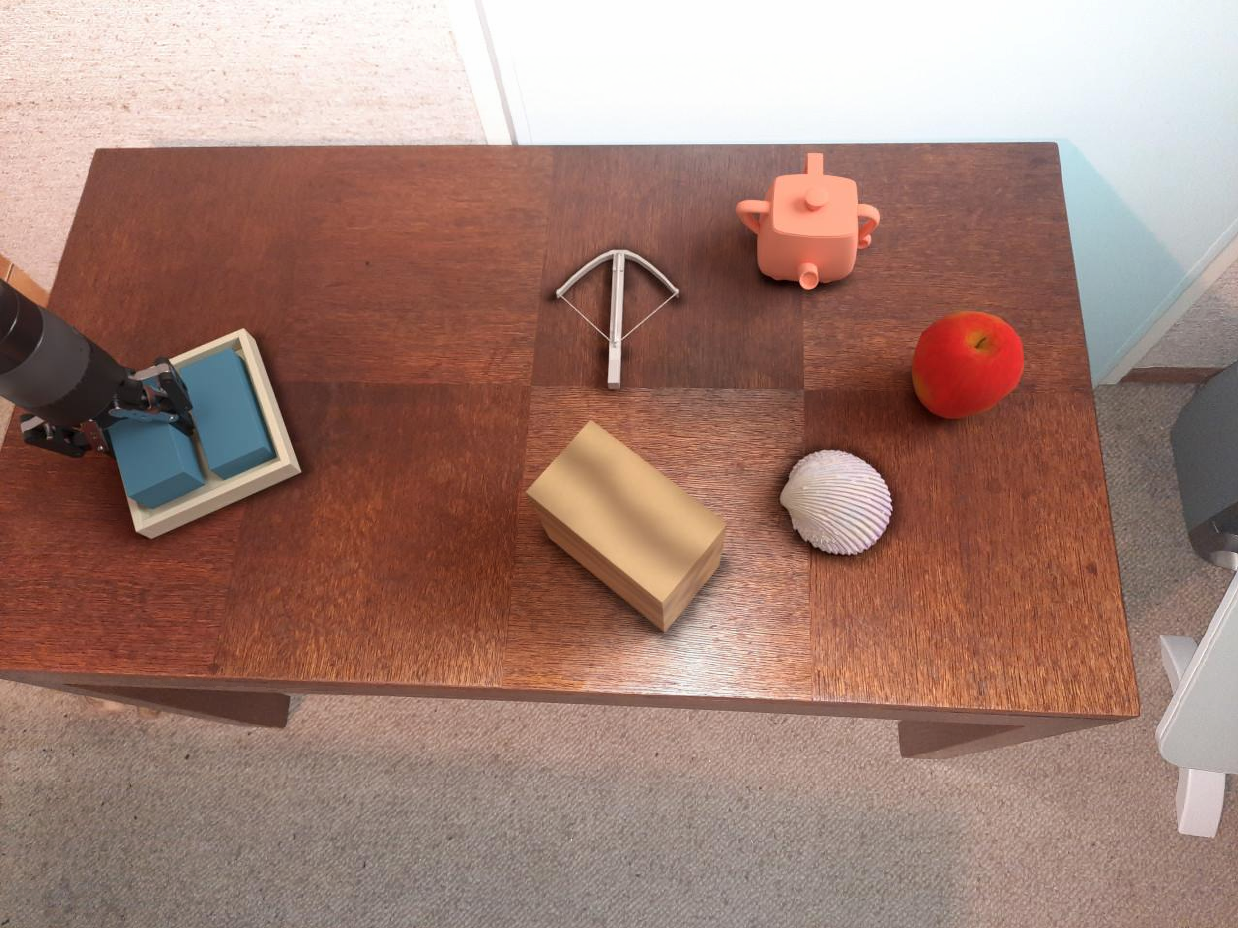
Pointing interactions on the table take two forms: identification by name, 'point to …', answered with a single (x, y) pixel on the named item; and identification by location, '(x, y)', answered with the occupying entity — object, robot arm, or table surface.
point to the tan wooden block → (628, 524)
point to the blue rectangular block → (155, 460)
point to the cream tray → (216, 487)
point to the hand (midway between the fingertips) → (159, 440)
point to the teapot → (809, 226)
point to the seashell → (837, 502)
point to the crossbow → (616, 303)
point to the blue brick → (227, 414)
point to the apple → (966, 364)
